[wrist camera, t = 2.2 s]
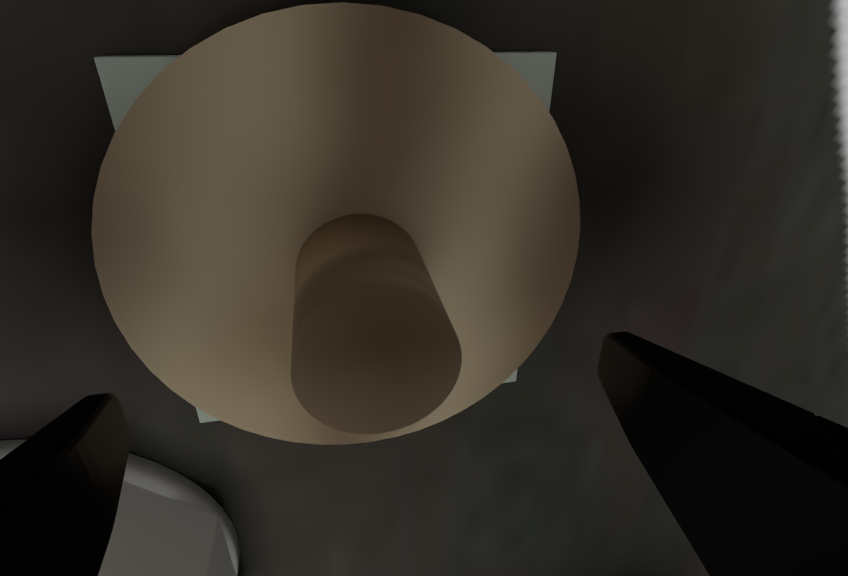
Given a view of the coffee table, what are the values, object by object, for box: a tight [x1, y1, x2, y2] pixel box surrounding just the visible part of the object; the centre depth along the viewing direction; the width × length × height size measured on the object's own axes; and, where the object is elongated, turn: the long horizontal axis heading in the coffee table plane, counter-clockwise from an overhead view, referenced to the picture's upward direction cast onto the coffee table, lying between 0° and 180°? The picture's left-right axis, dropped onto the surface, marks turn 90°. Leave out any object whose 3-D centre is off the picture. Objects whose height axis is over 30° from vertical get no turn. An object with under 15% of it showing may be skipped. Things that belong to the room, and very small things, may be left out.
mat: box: [94, 51, 557, 423], centre depth 14 cm, size 10×10×1 cm
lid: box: [91, 2, 580, 445], centre depth 11 cm, size 12×12×5 cm
